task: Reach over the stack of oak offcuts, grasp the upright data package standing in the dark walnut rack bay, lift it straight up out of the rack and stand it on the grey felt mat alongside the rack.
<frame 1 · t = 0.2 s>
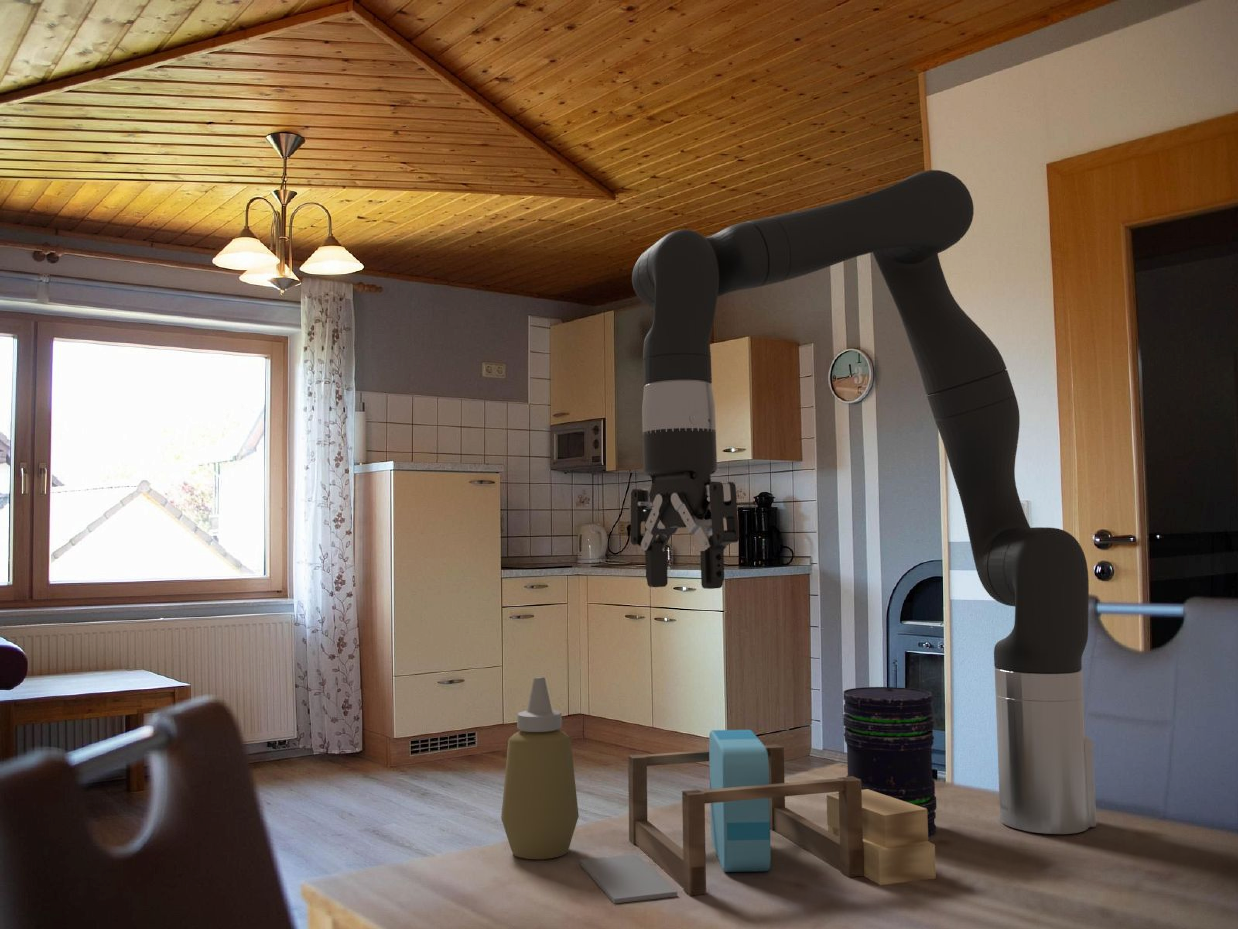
hand: (683, 587, 105), 27 cm above the table, fingers open, 8 cm apart
mat: (626, 879, 99), on the table
rack: (739, 856, 105), on the table
data package: (739, 859, 105), on the table
offcut lower: (880, 869, 102), on the table, touching offcut upper
offcut upper: (876, 832, 103), point 3 cm above the table, touching offcut lower
squeeze bottle: (540, 854, 108), on the table
dark navy cylinder: (891, 831, 115), on the table
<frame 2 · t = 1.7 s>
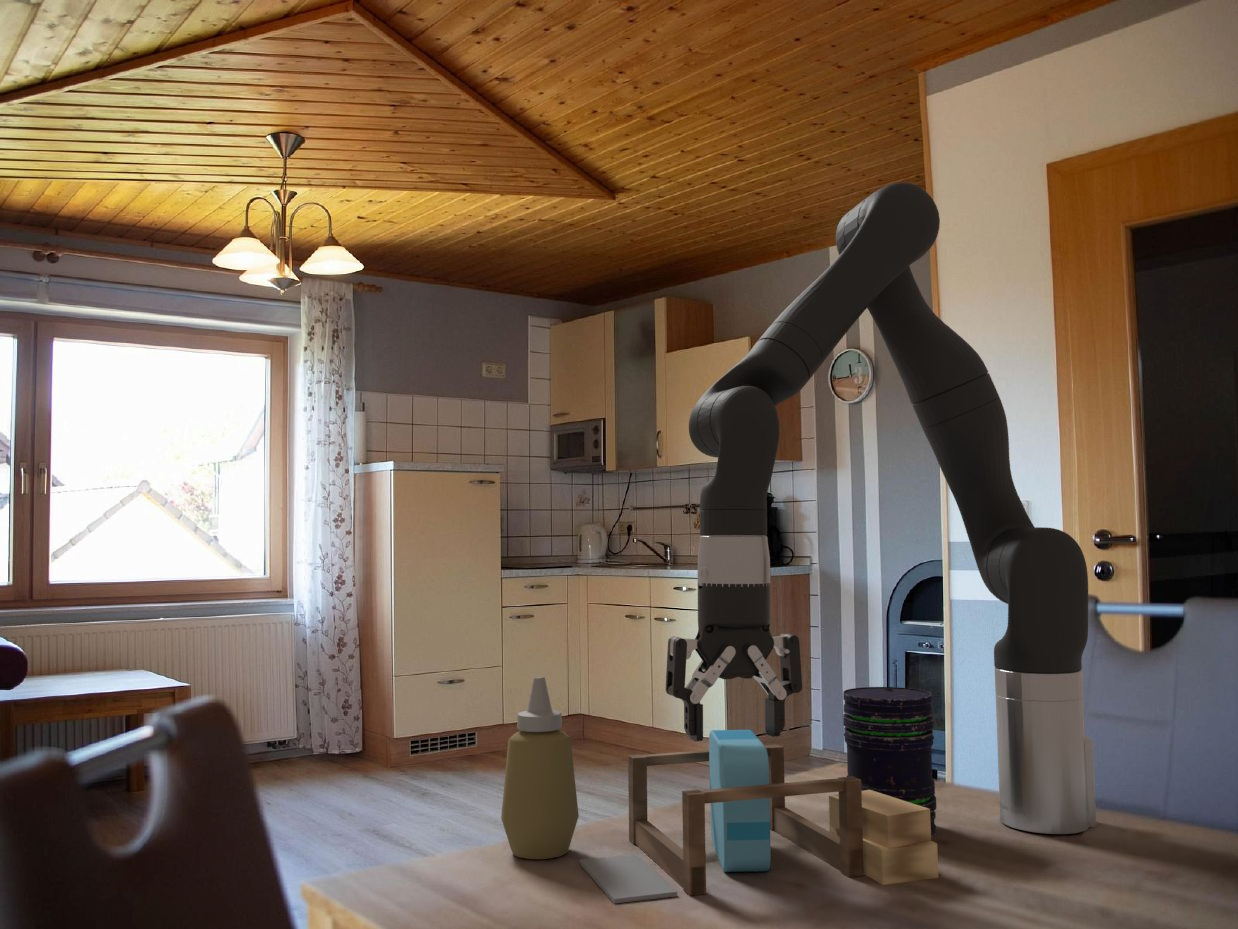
hand: (734, 737, 106), 12 cm above the table, fingers open, 8 cm apart
nothing on the table moved.
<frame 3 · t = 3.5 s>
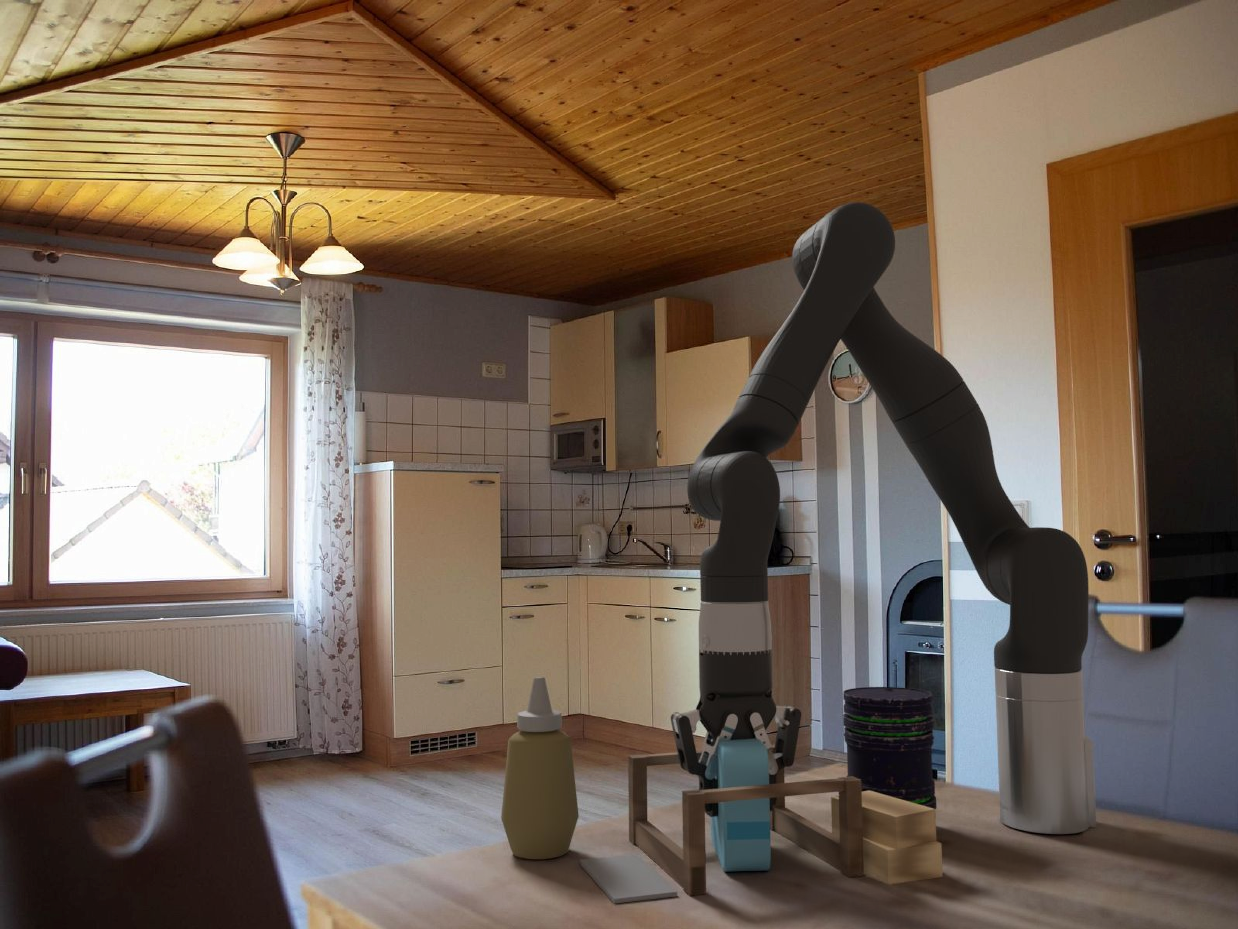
hand: (738, 811, 106), 4 cm above the table, fingers closed on data package, 5 cm apart
data package: (739, 859, 105), on the table, touching gripper
everything else where it was.
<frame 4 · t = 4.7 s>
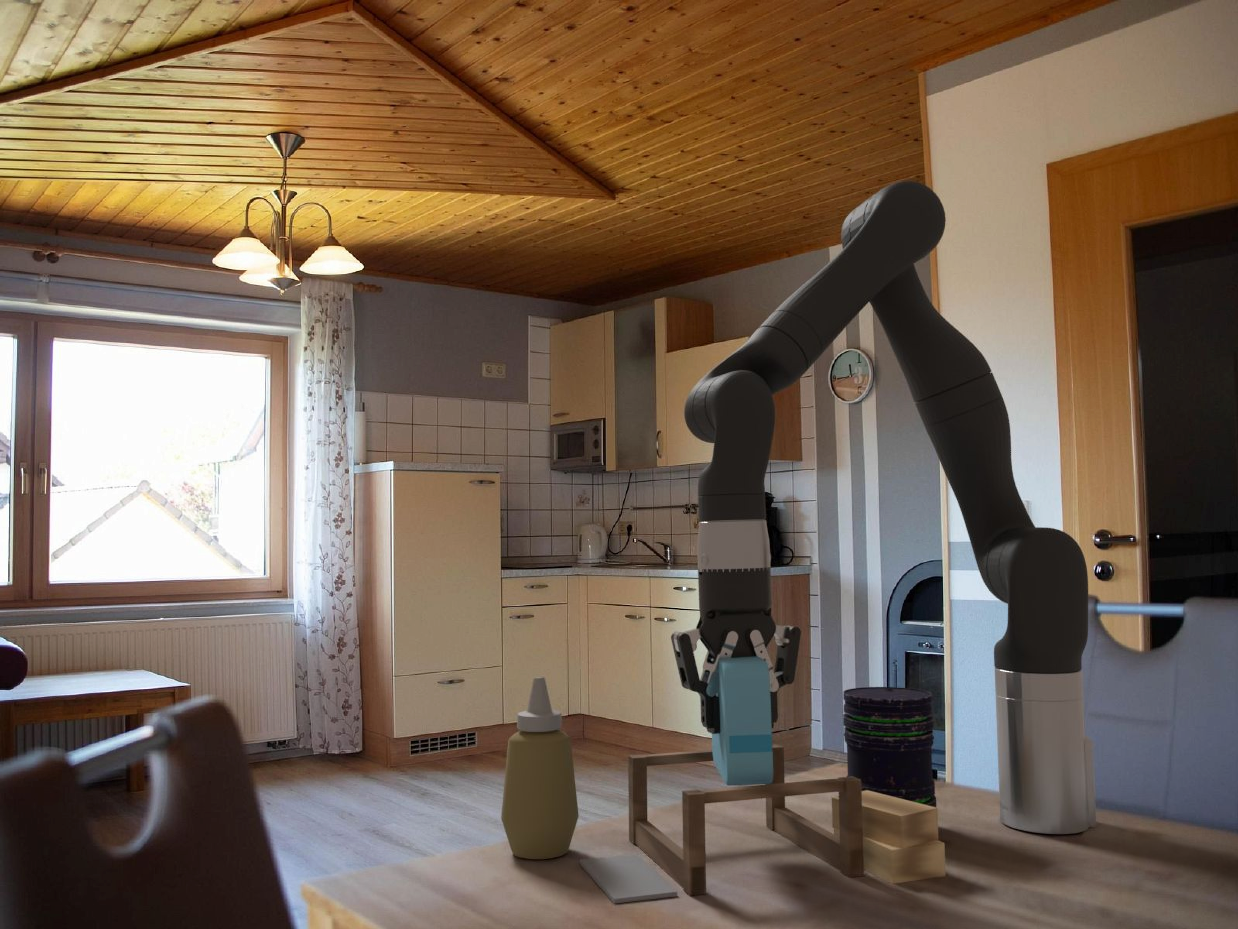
hand: (739, 729, 106), 13 cm above the table, fingers closed on data package, 5 cm apart
data package: (741, 776, 106), point 8 cm above the table, touching gripper
everything else where it was.
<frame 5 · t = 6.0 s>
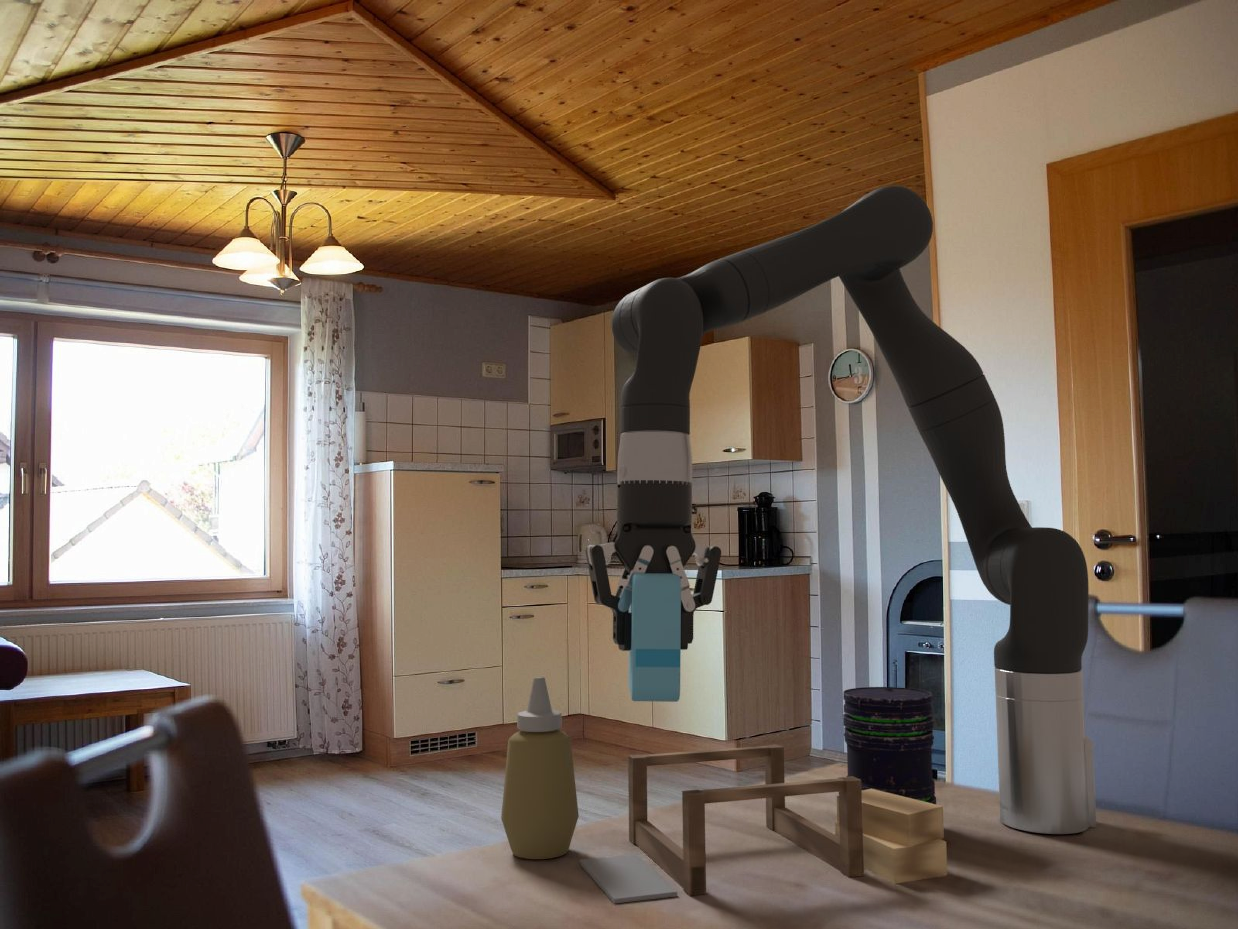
hand: (652, 648, 103), 22 cm above the table, fingers closed on data package, 5 cm apart
data package: (652, 696, 102), point 17 cm above the table, touching gripper
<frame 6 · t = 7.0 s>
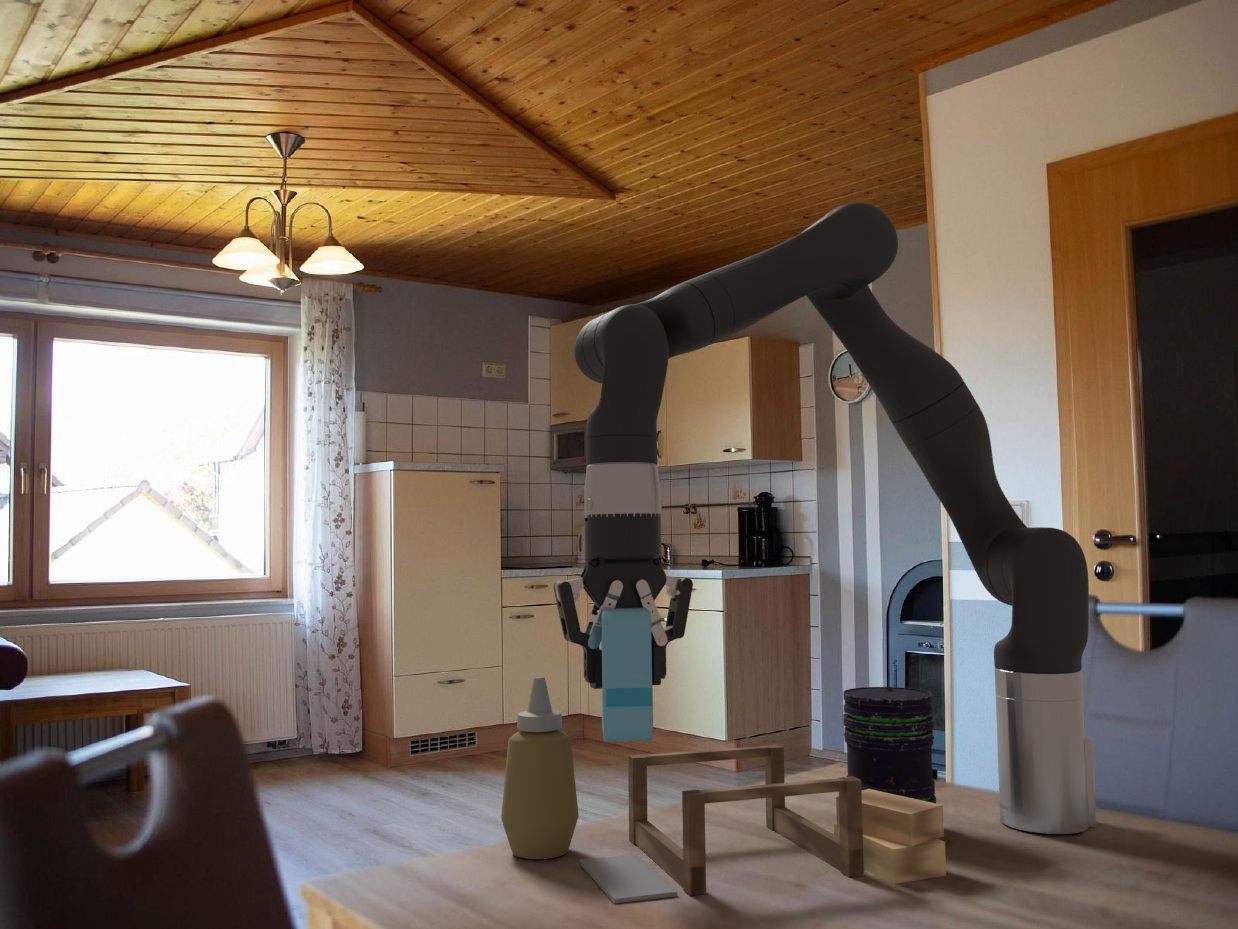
hand: (625, 685, 100), 18 cm above the table, fingers closed on data package, 5 cm apart
data package: (626, 734, 100), point 14 cm above the table, touching gripper
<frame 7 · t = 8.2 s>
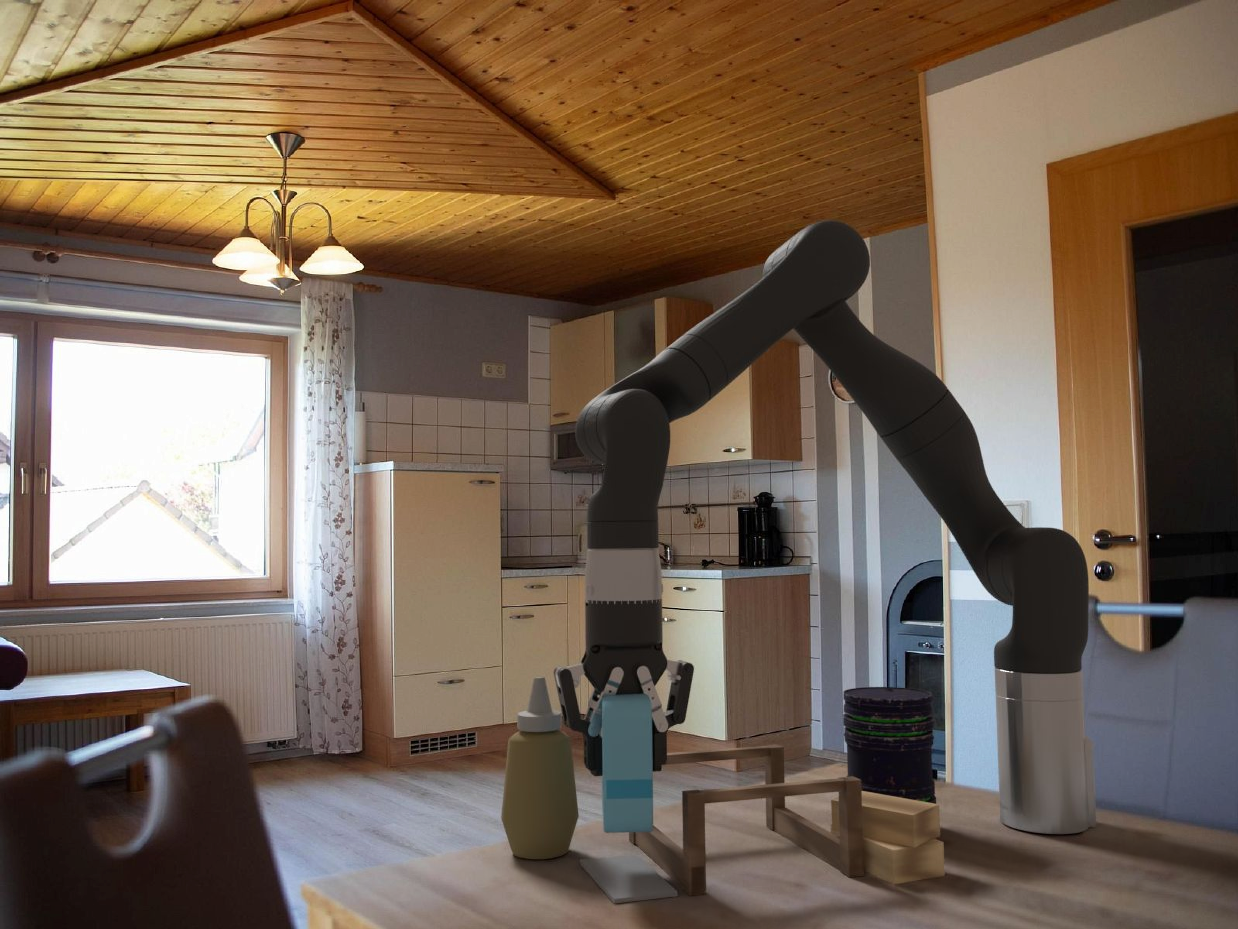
hand: (625, 771, 100), 10 cm above the table, fingers closed on data package, 5 cm apart
data package: (626, 821, 99), point 5 cm above the table, touching gripper
offcut lower: (886, 869, 102), on the table
offcut upper: (885, 833, 102), point 3 cm above the table
everything else where it was.
when the fingers open (6 cm above the table, at t = 10.0 s): data package stays where it is, resting on mat.
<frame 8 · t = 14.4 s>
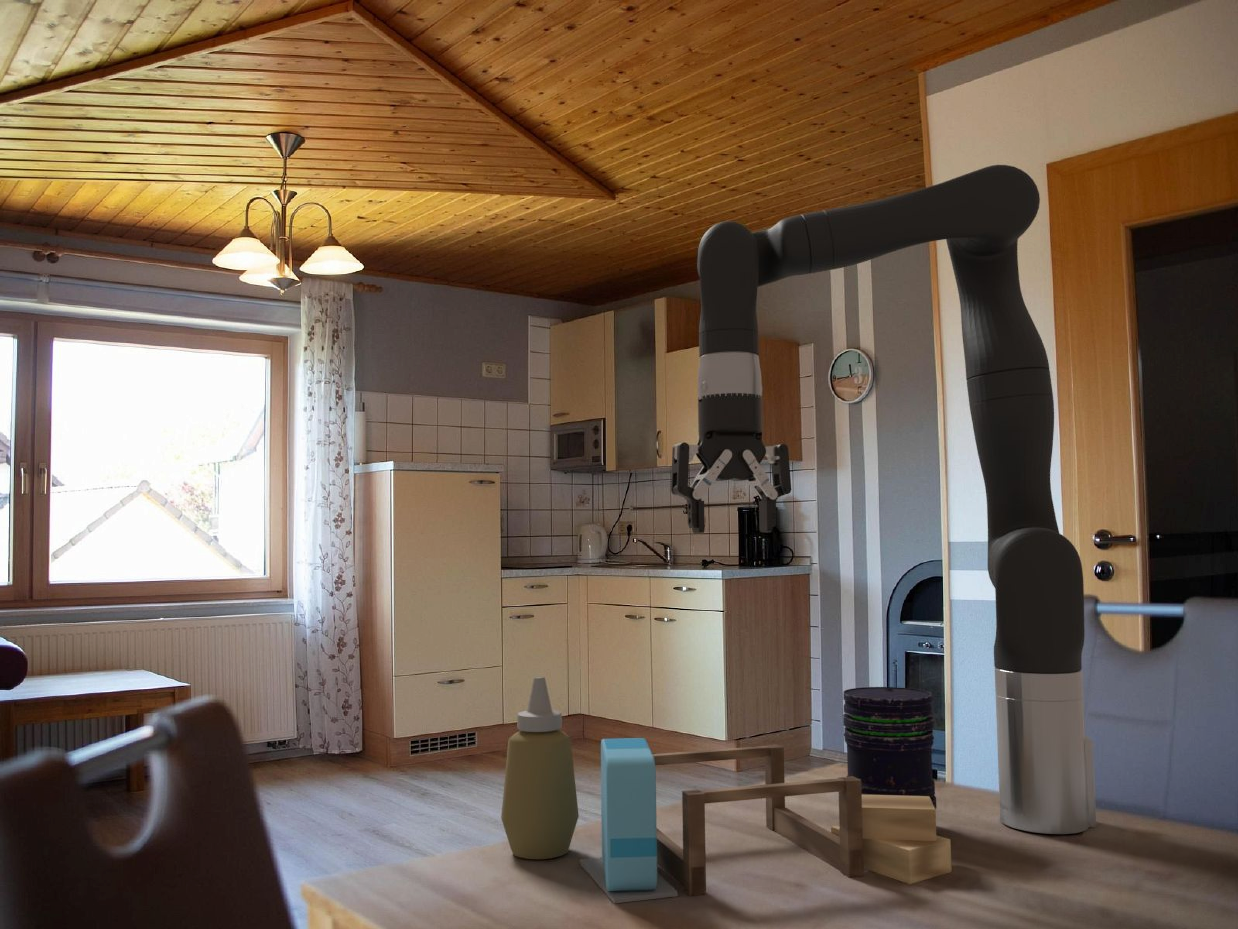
hand: (732, 532, 121), 33 cm above the table, fingers open, 8 cm apart
data package: (628, 876, 99), resting on mat
at the end: data package inside the target area on the mat (0.2 cm from its centre), point 0.2 cm above the mat's base; data package tilted 0°; the gripper is holding nothing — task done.
